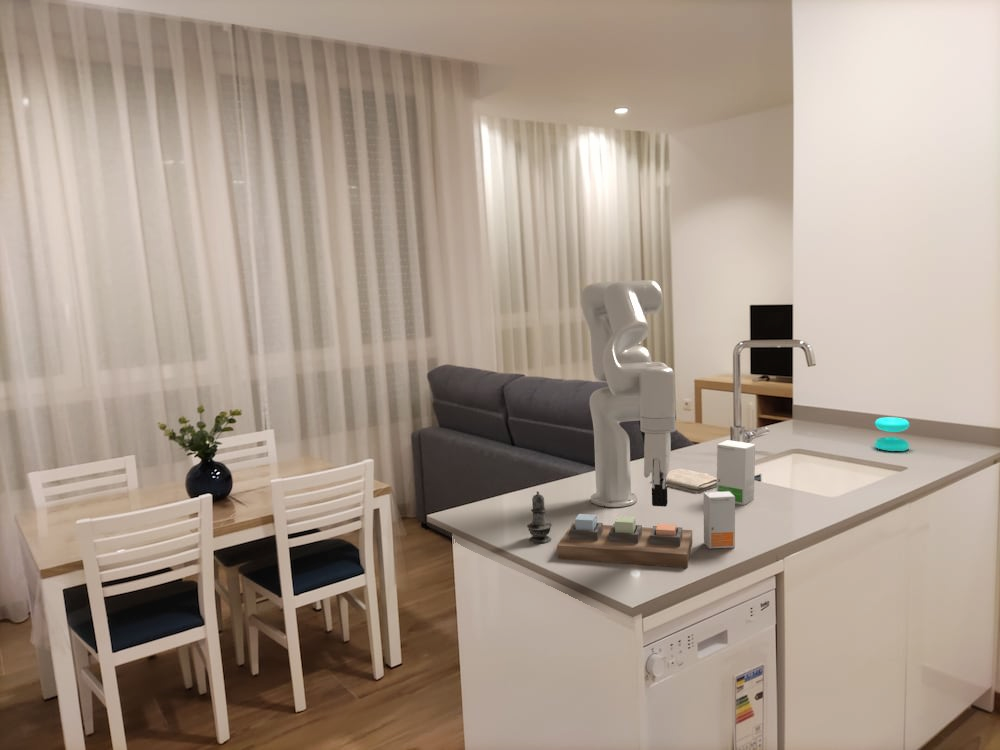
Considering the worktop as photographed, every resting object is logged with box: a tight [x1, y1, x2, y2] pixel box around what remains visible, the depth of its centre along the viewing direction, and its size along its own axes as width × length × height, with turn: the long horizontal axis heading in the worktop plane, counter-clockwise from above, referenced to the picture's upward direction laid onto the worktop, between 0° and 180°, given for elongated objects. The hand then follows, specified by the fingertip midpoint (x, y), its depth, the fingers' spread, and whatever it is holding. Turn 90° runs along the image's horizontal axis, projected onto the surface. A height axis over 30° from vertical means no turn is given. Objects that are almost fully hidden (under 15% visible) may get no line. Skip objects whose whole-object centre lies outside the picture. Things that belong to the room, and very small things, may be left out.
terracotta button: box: [656, 522, 677, 536], centre depth 161 cm, size 4×4×3 cm
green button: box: [614, 515, 637, 533], centre depth 164 cm, size 4×4×3 cm
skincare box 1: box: [703, 491, 736, 550], centre depth 164 cm, size 6×4×12 cm
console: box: [556, 522, 693, 569], centre depth 165 cm, size 15×28×5 cm, turn 71°
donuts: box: [874, 416, 910, 452], centre depth 241 cm, size 10×10×10 cm
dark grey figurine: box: [526, 490, 552, 545], centre depth 174 cm, size 6×6×12 cm
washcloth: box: [666, 468, 717, 494], centre depth 214 cm, size 12×18×3 cm, turn 39°
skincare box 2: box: [716, 439, 756, 506], centre depth 196 cm, size 8×7×16 cm
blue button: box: [574, 513, 597, 531], centre depth 167 cm, size 4×4×3 cm
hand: (659, 505), depth 161 cm, fingers closed
